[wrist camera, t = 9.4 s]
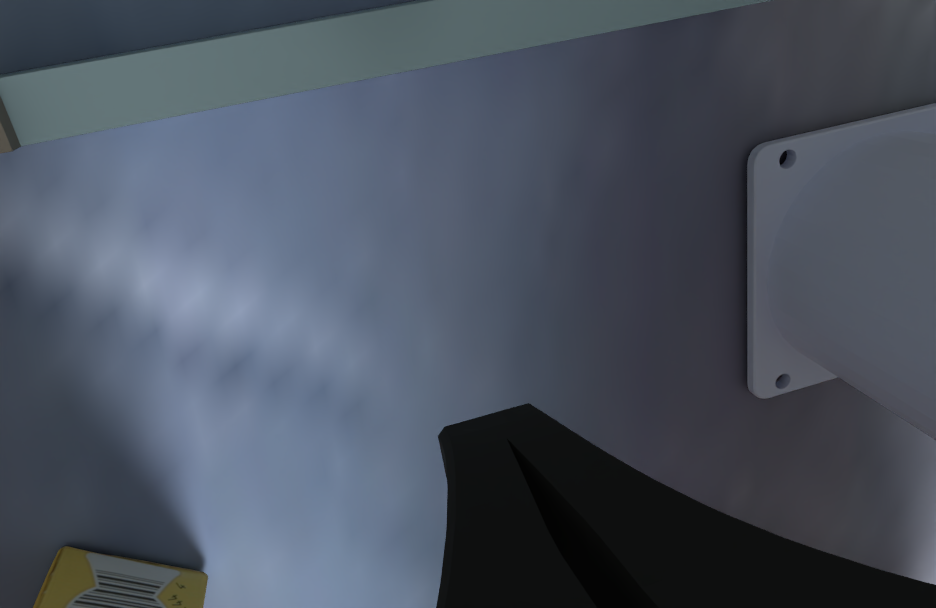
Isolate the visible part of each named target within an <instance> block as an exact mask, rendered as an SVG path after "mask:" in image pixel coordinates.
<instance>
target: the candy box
mask: <svg viewBox="0 0 936 608" xmlns="http://www.w3.org/2000/svg"><path fill="white" fill-rule="evenodd" d="M207 580H208V576H207V574H205V573H204V572H200V571H196V570H191V569H185V568H180V567H174V566H168V565H163V564H158V563H153V562H148V561H143V560H137V559H131V558H126V557H120V556H115V555H107V554H99V553H94V552H90V551H86V550H81V549H77V548H73V547H68V546H65V547H62V548H61V549H59V551H58V553H57V555H56V557H55V559H54V561H53V563H52V565H51V567H50V569H49V571H48V574H47V576H46V578H45V580H44V583H43V585H42V587H41V590H40V592H39V594H38V597H37V599H36V601H35V604H34V606H33V608H203V605H204V599H205V592H206V586H207Z"/></svg>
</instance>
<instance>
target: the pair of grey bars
mask: <svg viewBox="0 0 936 608" xmlns="http://www.w3.org/2000/svg"><path fill="white" fill-rule="evenodd" d="M767 1H772V0H417V1H411V2H405V3H400V4H394V5H389V6H383V7H377V8H372V9H366V10H360V11H355V12H349V13H344V14H338V15H332V16H327V17H321V18H315V19H310V20H304V21H299V22H293V23H287V24H282V25H276V26H270V27H265V28H259V29H254V30H248V31H242V32H237V33H231V34H225V35H220V36H214V37H209V38H203V39H197V40H192V41H186V42H180V43H175V44H169V45H164V46H158V47H152V48H147V49H141V50H136V51H130V52H124V53H119V54H113V55H107V56H102V57H96V58H91V59H85V60H79V61H74V62H68V63H62V64H57V65H51V66H46V67H40V68H34V69H29V70H23V71H17V72H12V73H6V74H1V75H0V153H5V152H10V151H14V150H15V149H17V148H19V147H21V146H25V145H30V144H35V143H41V142H46V141H51V140H56V139H61V138H66V137H71V136H77V135H82V134H87V133H92V132H97V131H102V130H107V129H113V128H118V127H123V126H128V125H133V124H138V123H144V122H149V121H154V120H159V119H164V118H169V117H174V116H180V115H185V114H190V113H195V112H200V111H205V110H210V109H216V108H221V107H226V106H231V105H236V104H241V103H246V102H252V101H257V100H262V99H267V98H272V97H277V96H283V95H288V94H293V93H298V92H303V91H308V90H313V89H319V88H324V87H329V86H334V85H339V84H344V83H349V82H355V81H360V80H365V79H370V78H375V77H380V76H386V75H391V74H396V73H401V72H406V71H411V70H416V69H422V68H427V67H432V66H437V65H442V64H447V63H452V62H458V61H463V60H468V59H473V58H478V57H483V56H489V55H494V54H499V53H504V52H509V51H514V50H519V49H525V48H530V47H535V46H540V45H545V44H550V43H555V42H561V41H566V40H571V39H576V38H581V37H586V36H592V35H597V34H602V33H607V32H612V31H617V30H622V29H628V28H633V27H638V26H643V25H648V24H653V23H658V22H664V21H669V20H674V19H679V18H684V17H689V16H695V15H700V14H705V13H710V12H715V11H720V10H725V9H731V8H736V7H741V6H746V5H751V4H756V3H761V2H767Z"/></svg>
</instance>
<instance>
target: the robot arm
mask: <svg viewBox="0 0 936 608" xmlns="http://www.w3.org/2000/svg"><path fill="white" fill-rule="evenodd" d="M784 151H787V157H786V160H785V162H784V163H783V164H781V165H780V163H779V160H780V156H781V155H782V153H783V152H784ZM780 375H782V377H781V378H780V380H779V381H777V382H776V379H777V378H778V377H779V376H780ZM838 377H839V378H840V379H842V380H843V381H845V382H847V383H848V384H850V385H851V386H853V387H854V388H856V389H857V390H859V391H861V392H862V393H864V394H865V395H867V396H868V397H870V398H871V399H873V400H875V401H876V402H878V403H879V404H881V405H882V406H884V407H885V408H887V409H889V410H890V411H892V412H893V413H895V414H896V415H898V416H899V417H901V418H903V419H904V420H906V421H907V422H909V423H910V424H912V425H913V426H915V427H917V428H918V429H920V430H921V431H923V432H924V433H926V434H927V435H929V436H931V437H932V438H934V439H935V440H936V103H933V104H929V105H924V106H920V107H916V108H911V109H907V110H903V111H898V112H894V113H890V114H885V115H881V116H877V117H872V118H868V119H864V120H859V121H855V122H851V123H846V124H842V125H838V126H833V127H829V128H825V129H820V130H816V131H812V132H807V133H803V134H799V135H794V136H790V137H786V138H781V139H777V140H773V141H768V142H764V143H762V144H759V145H757V146H756V147H755V148H754V149H753V150H752V152H751V153H750V155H749V157H748V163H747V385H748V389H749V391H750V392H751V393H752V394H754V395H755V396H756V397H757V398H760V399H767V398H771V397H774V396H778V395H781V394H784V393H788V392H791V391H794V390H798V389H801V388H804V387H808V386H811V385H815V384H818V383H821V382H825V381H828V380H831V379H835V378H838ZM438 439H439V443H440V448H441V453H442V458H443V462H444V467H445V472H446V477H447V484H448V499H447V530H446V541H445V549H444V558H443V567H442V576H441V583H440V589H439V595H438V601H437V607H436V608H936V585H934V584H930V583H925V582H922V581H918V580H915V579H911V578H908V577H904V576H901V575H897V574H893V573H890V572H886V571H883V570H879V569H876V568H873V567H869V566H866V565H863V564H860V563H857V562H854V561H851V560H848V559H845V558H842V557H839V556H835V555H832V554H829V553H826V552H823V551H820V550H817V549H814V548H811V547H808V546H805V545H803V544H800V543H797V542H794V541H791V540H789V539H786V538H783V537H781V536H778V535H775V534H773V533H770V532H768V531H766V530H763V529H761V528H758V527H756V526H753V525H751V524H748V523H746V522H743V521H741V520H739V519H736V518H734V517H731V516H729V515H726V514H724V513H722V512H720V511H717V510H715V509H713V508H711V507H708V506H706V505H704V504H702V503H700V502H698V501H696V500H694V499H692V498H690V497H688V496H686V495H684V494H682V493H680V492H678V491H676V490H674V489H672V488H670V487H668V486H666V485H664V484H662V483H660V482H658V481H656V480H654V479H652V478H650V477H648V476H647V475H645V474H643V473H641V472H639V471H637V470H636V469H634V468H632V467H631V466H629V465H627V464H625V463H624V462H622V461H620V460H618V459H617V458H615V457H613V456H612V455H610V454H608V453H607V452H605V451H603V450H602V449H600V448H598V447H597V446H595V445H593V444H592V443H590V442H589V441H587V440H586V439H584V438H582V437H581V436H579V435H578V434H576V433H574V432H573V431H571V430H570V429H568V428H567V427H565V426H564V425H562V424H560V423H559V422H557V421H556V420H554V419H553V418H551V417H550V416H548V415H547V414H545V413H543V412H542V411H540V410H539V409H537V408H535V407H534V406H532V405H531V404H529V403H528V404H524V405H521V406H517V407H513V408H510V409H506V410H503V411H499V412H496V413H492V414H488V415H485V416H481V417H478V418H474V419H471V420H467V421H464V422H460V423H456V424H453V425H449V426H446V427H444V428H443V430H442V431H441V433H440V434H439V435H438Z"/></svg>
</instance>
